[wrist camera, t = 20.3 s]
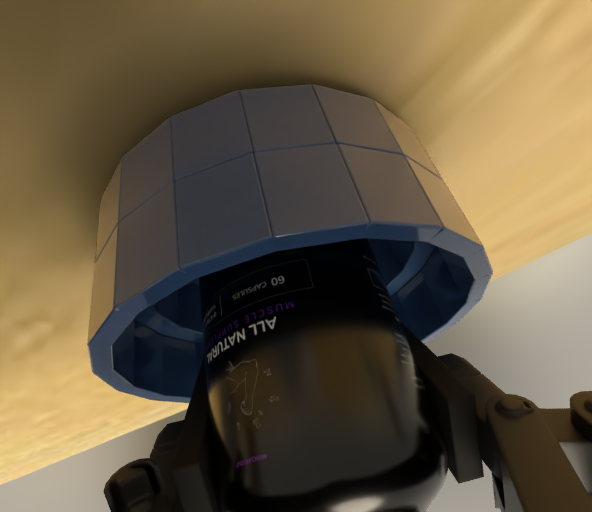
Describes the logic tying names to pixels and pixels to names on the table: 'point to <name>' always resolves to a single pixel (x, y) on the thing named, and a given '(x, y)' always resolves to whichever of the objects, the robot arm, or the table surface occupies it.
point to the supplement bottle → (315, 388)
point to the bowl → (267, 222)
